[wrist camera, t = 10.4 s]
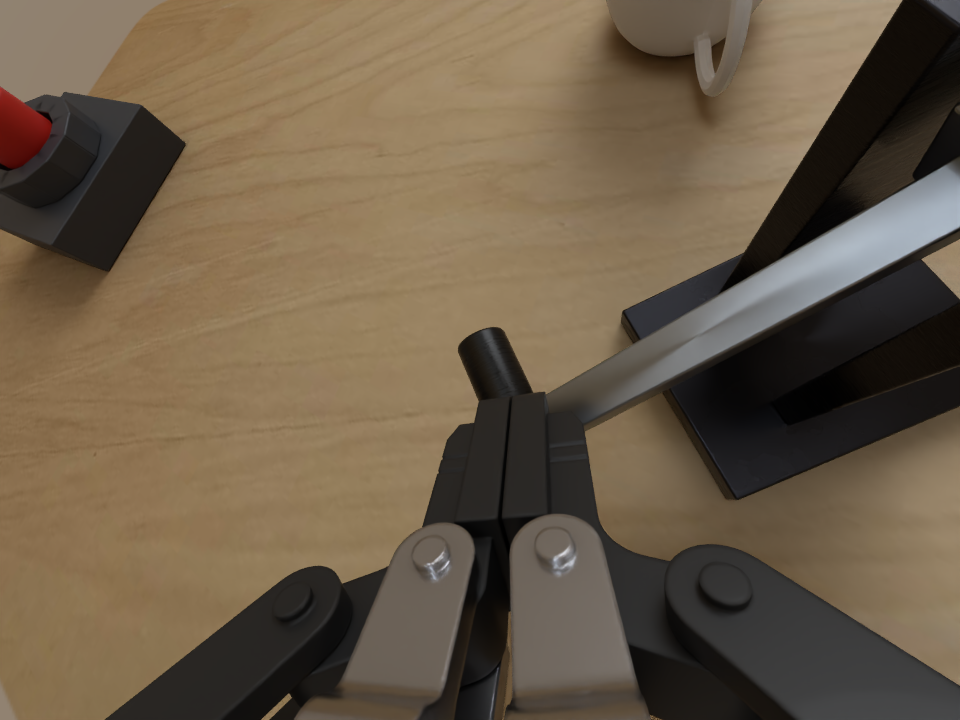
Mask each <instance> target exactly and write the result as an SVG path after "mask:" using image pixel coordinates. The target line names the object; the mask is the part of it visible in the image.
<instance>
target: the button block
mask: <svg viewBox="0 0 960 720" xmlns="http://www.w3.org/2000/svg"><path fill="white" fill-rule="evenodd" d="M25 104H26V105H28V106H29V107H31V108H32V109H33V110H35V111H36V112H38V113H39V114H41V115H42V116H44V117H45V118H46V119H48V120H49V121H50V122H51V123H52V128H51V132H50V136H49V138H48V140H47V141H46V143H45V144H44V146H43V147H42V149H41V150H40V151H39V153H38V154H37V155H35V156H34V157H33V158H32V159H30V160H29V161H28V162H27V163H26V164H24V165H23V166H21V167H19V168H16V169H10V168H8V167H6V166H4V165H2V164H0V229H2V230H4V231H6V232H8V233H11V234H13V235H15V236H17V237H19V238H22V239H24V240H26V241H28V242H30V243H33V244H35V245H37V246H40V247H43V248H45V249H48V250H51V251H54V252H56V253H59V254H62V255H64V256H67V257H70V258H72V259H75V260H78V261H80V262H83V263H86V264H88V265H91V266H94V267H97V268H99V269H102V270H105V271H109V269H110V268H111V266H112V264H113V263H114V261H115V259H116V258H117V256H118V254H119V253H120V251H121V249H122V248H123V246H124V244H125V243H126V241H127V239H128V238H129V236H130V235H131V233H132V231H133V230H134V228H135V226H136V225H137V223H138V221H139V220H140V218H141V216H142V215H143V213H144V211H145V210H146V208H147V207H148V205H149V203H150V202H151V200H152V198H153V197H154V195H155V193H156V192H157V190H158V188H159V187H160V185H161V183H162V182H163V180H164V178H165V177H166V175H167V174H168V172H169V170H170V169H171V167H172V165H173V164H174V162H175V160H176V159H177V157H178V155H179V154H180V152H181V150H182V149H183V147H184V146H185V142H184V141H182V140H181V139H180V138H179V137H178V136H177V135H176V134H174V133H173V132H172V131H171V130H170V129H169V128H167V127H166V126H165V125H164V124H163V123H162V122H161V121H159V120H158V119H157V118H156V117H155V116H154V115H152V114H151V113H150V112H149V111H148V110H147V109H146V108H144V107H143V106H142V105H139V104H133V103H127V102H121V101H115V100H109V99H103V98H97V97H91V96H85V95H80V94H73V93H67V92H64V93H63V95H62V96H61V97H57V96H51V95H43V96H40V97H38V98H35V99H33V100H30V101H28V102H25Z"/></svg>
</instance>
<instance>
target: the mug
mask: <svg viewBox="0 0 960 720" xmlns="http://www.w3.org/2000/svg"><path fill="white" fill-rule="evenodd" d="M761 1H762V0H606V2H607V6H608V9H609V12H610V15H611V17H612V19H613V21H614V23H615V26H616V27H617V29H618V31H619V32H620V33H621V34H622V36H623V37H624V38H625V39H626V40H627V41H629V42H630V43H631V44H632V45H633V46H635V47H636V48H637V49H639V50H641V51H643V52H646V53H649V54H652V55H658V56H683V55H688V54H693V53H695V65H696V71H697V76H698V80H699V83H700V87H701V89H702V91H703V93H704V94H706V95H707V96H711V97H715V96H718V95H719V94H721V93H722V92H724V91H725V89H726V88H727V87H728V85H729V84H730V82H731V80H732V78H733V76H734V74H735V72H736V69H737V66H738V63H739V60H740V58H741V54H742V51H743V47H744V43H745V40H746V35H747V31H748V26H749V21H750V15H751V14H752V13H753V11H754V10H755V9H756V8H757V7H758V5H759V4H760V3H761ZM725 37H726V42H725V46H724V50H723V55H722V59H721V62H720V65H719V67H718V70H717V72H716V74H715V72H714V69H713V63H712V55H711V46H713V45H715V44H716V43H718V42H720V41H721V40H723V39H724V38H725Z"/></svg>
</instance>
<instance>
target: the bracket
mask: <svg viewBox="0 0 960 720" xmlns="http://www.w3.org/2000/svg"><path fill="white" fill-rule="evenodd" d="M958 102H960V0H903V1H902V2H901V4H900V5H899V7H898V8H897V10H896V12H895V13H894V15H893V16H892V18H891V20H890V21H889V23H888V24H887V26H886V28H885V29H884V31H883V32H882V34H881V36H880V37H879V39H878V40H877V42H876V44H875V45H874V47H873V48H872V50H871V51H870V53H869V55H868V56H867V58H866V59H865V61H864V63H863V64H862V66H861V67H860V69H859V71H858V72H857V74H856V75H855V77H854V79H853V80H852V82H851V83H850V85H849V87H848V88H847V90H846V91H845V93H844V94H843V96H842V98H841V99H840V101H839V102H838V104H837V106H836V107H835V109H834V110H833V112H832V114H831V115H830V117H829V118H828V120H827V122H826V123H825V125H824V126H823V128H822V130H821V131H820V133H819V134H818V136H817V137H816V139H815V141H814V142H813V144H812V145H811V147H810V149H809V150H808V152H807V153H806V155H805V157H804V158H803V160H802V161H801V163H800V165H799V166H798V168H797V169H796V171H795V173H794V174H793V176H792V177H791V179H790V180H789V182H788V184H787V185H786V187H785V188H784V190H783V192H782V193H781V195H780V196H779V198H778V200H777V201H776V203H775V204H774V206H773V208H772V209H771V211H770V212H769V214H768V216H767V217H766V219H765V220H764V222H763V223H762V225H761V227H760V228H759V230H758V231H757V233H756V235H755V236H754V238H753V239H752V241H751V243H750V244H749V246H748V247H747V249H746V251H745V252H744V253H742V254H740V255H738V256H736V257H734V258H732V259H730V260H728V261H726V262H724V263H722V264H719V265H717V266H715V267H713V268H711V269H709V270H707V271H705V272H703V273H701V274H699V275H696V276H694V277H692V278H690V279H688V280H686V281H684V282H682V283H680V284H678V285H676V286H674V287H671V288H669V289H667V290H665V291H663V292H661V293H659V294H657V295H655V296H653V297H651V298H648V299H646V300H644V301H642V302H640V303H638V304H636V305H634V306H632V307H630V308H628V309H626V310H623V312H622V317H621V323H622V325H623V327H624V328H625V330H626V332H627V333H628V335H629V337H630V338H631V340H632V342H633V343H636V342H637V341H639V340H641V339H643V338H644V337H646V336H648V335H650V334H651V333H653V332H655V331H656V330H658V329H660V328H662V327H663V326H665V325H667V324H668V323H670V322H672V321H674V320H675V319H677V318H679V317H681V316H682V315H684V314H686V313H687V312H689V311H691V310H693V309H694V308H696V307H698V306H699V305H701V304H703V303H705V302H706V301H708V300H710V299H712V298H713V297H715V296H717V295H718V294H720V293H722V292H724V291H725V290H727V289H729V288H730V287H732V286H734V285H736V284H737V283H739V282H741V281H743V280H744V279H746V278H748V277H749V276H751V275H753V274H755V273H756V272H758V271H760V270H761V269H763V268H765V267H767V266H768V265H770V264H772V263H774V262H775V261H777V260H779V259H780V258H782V257H784V256H786V255H787V254H789V253H791V252H792V251H794V250H796V249H798V248H799V247H801V246H803V245H805V244H806V243H808V242H810V241H811V240H813V239H815V238H817V237H818V236H820V235H822V234H823V233H825V232H827V231H829V230H830V229H832V228H834V227H835V226H837V225H839V224H841V223H842V222H844V221H846V220H848V219H849V218H851V217H853V216H854V215H856V214H858V213H860V212H861V211H863V210H865V209H866V208H868V207H870V206H872V205H873V204H875V203H877V202H879V201H880V200H882V199H884V198H885V197H887V196H889V195H891V194H892V193H894V192H896V191H897V190H899V189H901V188H903V187H904V186H906V185H908V184H910V183H911V182H913V181H915V179H914V178H913V176H912V174H913V172H914V171H915V169H916V168H917V166H918V164H919V163H920V161H921V159H922V158H923V156H924V154H925V153H926V151H927V149H928V148H929V146H930V145H931V143H932V141H933V140H934V138H935V136H936V135H937V133H938V131H939V130H940V128H941V126H942V125H943V123H944V122H945V120H946V118H947V117H948V115H949V113H950V112H951V110H952V108H953V107H954V106H955V105H956V104H957V103H958ZM663 394H664V395H665V397H666V399H667V400H668V402H669V404H670V405H671V407H672V409H673V410H674V412H675V414H676V415H677V417H678V419H679V420H680V422H681V424H682V425H683V427H684V429H685V430H686V432H687V434H688V435H689V437H690V439H691V440H692V442H693V444H694V445H695V447H696V449H697V450H698V452H699V454H700V455H701V457H702V459H703V460H704V462H705V464H706V466H707V467H708V469H709V471H710V472H711V474H712V476H713V477H714V479H715V481H716V482H717V484H718V486H719V487H720V489H721V491H722V492H723V494H724V496H725V497H726V499H728V500H739V499H742V498H744V497H747V496H749V495H751V494H754V493H756V492H758V491H761V490H763V489H765V488H768V487H770V486H773V485H775V484H777V483H780V482H782V481H784V480H787V479H789V478H791V477H794V476H796V475H799V474H801V473H803V472H806V471H808V470H810V469H813V468H815V467H817V466H820V465H822V464H825V463H827V462H829V461H832V460H834V459H836V458H839V457H841V456H843V455H846V454H848V453H850V452H853V451H855V450H858V449H860V448H862V447H865V446H867V445H869V444H872V443H874V442H876V441H879V440H881V439H884V438H886V437H888V436H891V435H893V434H895V433H898V432H900V431H902V430H905V429H907V428H910V427H912V426H914V425H917V424H919V423H921V422H924V421H926V420H928V419H931V418H933V417H936V416H938V415H940V414H943V413H945V412H947V411H950V410H952V409H954V408H957V407H959V406H960V299H959V298H958V297H957V296H956V295H955V294H954V293H953V292H952V291H951V290H950V289H949V288H948V287H947V286H946V285H945V284H944V283H943V281H942V280H941V279H940V278H939V277H938V276H937V275H936V274H935V273H934V272H933V271H932V270H931V269H930V268H929V267H928V266H927V265H926V264H925V263H924V262H923V261H922V260H921V259H920V260H918V261H916V262H914V263H912V264H910V265H908V266H906V267H905V268H903V269H901V270H899V271H897V272H895V273H893V274H891V275H889V276H887V277H885V278H883V279H881V280H879V281H877V282H875V283H873V284H871V285H870V286H868V287H866V288H864V289H862V290H860V291H858V292H856V293H854V294H852V295H850V296H848V297H846V298H844V299H842V300H840V301H838V302H836V303H834V304H833V305H831V306H829V307H827V308H825V309H823V310H821V311H819V312H817V313H815V314H813V315H811V316H809V317H807V318H805V319H803V320H801V321H799V322H798V323H796V324H794V325H792V326H790V327H788V328H786V329H784V330H782V331H780V332H778V333H776V334H774V335H772V336H770V337H768V338H766V339H764V340H762V341H761V342H759V343H757V344H755V345H753V346H751V347H749V348H747V349H745V350H743V351H741V352H739V353H737V354H735V355H733V356H731V357H729V358H727V359H725V360H724V361H722V362H720V363H718V364H716V365H714V366H712V367H710V368H708V369H706V370H704V371H702V372H700V373H698V374H696V375H694V376H692V377H690V378H689V379H687V380H685V381H683V382H681V383H679V384H677V385H675V386H673V387H671V388H669V389H667V390H665V391H663Z"/></svg>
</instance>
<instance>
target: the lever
mask: <svg viewBox="0 0 960 720" xmlns="http://www.w3.org/2000/svg"><path fill="white" fill-rule="evenodd" d="M912 176H913V178H914V179H915V181H913V182H911V183H910V184H908V185H906V186H904V187H903V188H901V189H899V190H897V191H896V192H894V193H892V194H891V195H889V196H887V197H885V198H884V199H882V200H880V201H879V202H877V203H875V204H873V205H872V206H870V207H868V208H866V209H865V210H863V211H861V212H860V213H858V214H856V215H854V216H853V217H851V218H849V219H848V220H846V221H844V222H842V223H841V224H839V225H837V226H835V227H834V228H832V229H830V230H829V231H827V232H825V233H823V234H822V235H820V236H818V237H817V238H815V239H813V240H811V241H810V242H808V243H806V244H805V245H803V246H801V247H799V248H798V249H796V250H794V251H792V252H791V253H789V254H787V255H786V256H784V257H782V258H780V259H779V260H777V261H775V262H774V263H772V264H770V265H768V266H767V267H765V268H763V269H761V270H760V271H758V272H756V273H755V274H753V275H751V276H749V277H748V278H746V279H744V280H743V281H741V282H739V283H737V284H736V285H734V286H732V287H730V288H729V289H727V290H725V291H724V292H722V293H720V294H718V295H717V296H715V297H713V298H712V299H710V300H708V301H706V302H705V303H703V304H701V305H699V306H698V307H696V308H694V309H693V310H691V311H689V312H687V313H686V314H684V315H682V316H681V317H679V318H677V319H675V320H674V321H672V322H670V323H668V324H667V325H665V326H663V327H662V328H660V329H658V330H656V331H655V332H653V333H651V334H650V335H648V336H646V337H644V338H643V339H641V340H639V341H637V342H636V343H634V344H632V345H631V346H629V347H627V348H625V349H624V350H622V351H620V352H619V353H617V354H615V355H613V356H612V357H610V358H608V359H606V360H605V361H603V362H601V363H600V364H598V365H596V366H594V367H593V368H591V369H589V370H588V371H586V372H584V373H582V374H581V375H579V376H577V377H575V378H574V379H572V380H570V381H569V382H567V383H565V384H563V385H562V386H560V387H558V388H557V389H555V390H553V391H551V392H550V393H548V394H546V398H547V403H548V408H549V413H557V412H565V411H572V412H573V413H574V414H575V415H576V416H577V418H578V419H579V420H580V421H581V422H582V423H583V426H584V432H585V431H587V430H589V429H591V428H593V427H595V426H597V425H599V424H601V423H603V422H605V421H607V420H609V419H611V418H613V417H615V416H617V415H618V414H620V413H622V412H624V411H626V410H628V409H630V408H632V407H634V406H636V405H638V404H640V403H642V402H644V401H646V400H648V399H650V398H652V397H653V396H655V395H657V394H659V393H661V392H663V391H665V390H667V389H669V388H671V387H673V386H675V385H677V384H679V383H681V382H683V381H685V380H687V379H689V378H690V377H692V376H694V375H696V374H698V373H700V372H702V371H704V370H706V369H708V368H710V367H712V366H714V365H716V364H718V363H720V362H722V361H724V360H725V359H727V358H729V357H731V356H733V355H735V354H737V353H739V352H741V351H743V350H745V349H747V348H749V347H751V346H753V345H755V344H757V343H759V342H761V341H762V340H764V339H766V338H768V337H770V336H772V335H774V334H776V333H778V332H780V331H782V330H784V329H786V328H788V327H790V326H792V325H794V324H796V323H798V322H799V321H801V320H803V319H805V318H807V317H809V316H811V315H813V314H815V313H817V312H819V311H821V310H823V309H825V308H827V307H829V306H831V305H833V304H834V303H836V302H838V301H840V300H842V299H844V298H846V297H848V296H850V295H852V294H854V293H856V292H858V291H860V290H862V289H864V288H866V287H868V286H870V285H871V284H873V283H875V282H877V281H879V280H881V279H883V278H885V277H887V276H889V275H891V274H893V273H895V272H897V271H899V270H901V269H903V268H905V267H906V266H908V265H910V264H912V263H914V262H916V261H918V260H920V259H922V258H924V257H926V256H928V255H930V254H932V253H934V252H936V251H938V250H940V249H942V248H943V247H945V246H947V245H949V244H951V243H953V242H955V241H957V240H959V239H960V102H958V103H957V104H956V105H955V106H954V107H953V108H952V110H951V112H950V113H949V115H948V117H947V118H946V120H945V122H944V123H943V125H942V126H941V128H940V130H939V131H938V133H937V135H936V136H935V138H934V140H933V141H932V143H931V145H930V146H929V148H928V149H927V151H926V153H925V154H924V156H923V158H922V159H921V161H920V163H919V164H918V166H917V168H916V169H915V171H914V172H913V174H912ZM458 353H459V356H460V358H461V360H462V363H463V365H464V367H465V370H466V372H467V375H468V377H469V379H470V382H471V384H472V386H473V389H474V391H475V394H476V396H477V398H478V401H480V400H487V399H495V398H502V397H509V396H511V397H513V396H516V395H523V394H531V393H533V391H532V389H531V387H530V384H529V382H528V380H527V378H526V376H525V374H524V372H523V370H522V368H521V366H520V363H519V361H518V359H517V357H516V355H515V353H514V351H513V349H512V347H511V345H510V342H509V340H508V338H507V336H506V334H505V332H504V331H503V330H502V329H501V328H498V327H490V328H485V329H482V330H479V331H477V332H475V333H473V334H471V335H469V336H468V337H466V338H465V339H464V340H463V341H462V342H461V343H460V345H459V347H458Z"/></svg>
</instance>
